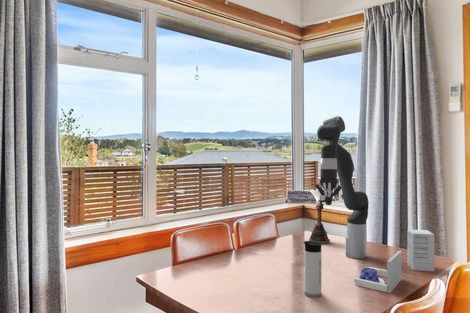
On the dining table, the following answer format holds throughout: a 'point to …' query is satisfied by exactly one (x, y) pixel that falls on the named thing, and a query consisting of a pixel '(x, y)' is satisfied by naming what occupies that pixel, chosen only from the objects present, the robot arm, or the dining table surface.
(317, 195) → the brown tall flared piece
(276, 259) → the dining table surface
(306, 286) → the travel mug
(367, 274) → the blue checkered hat
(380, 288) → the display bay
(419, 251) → the supplement box
